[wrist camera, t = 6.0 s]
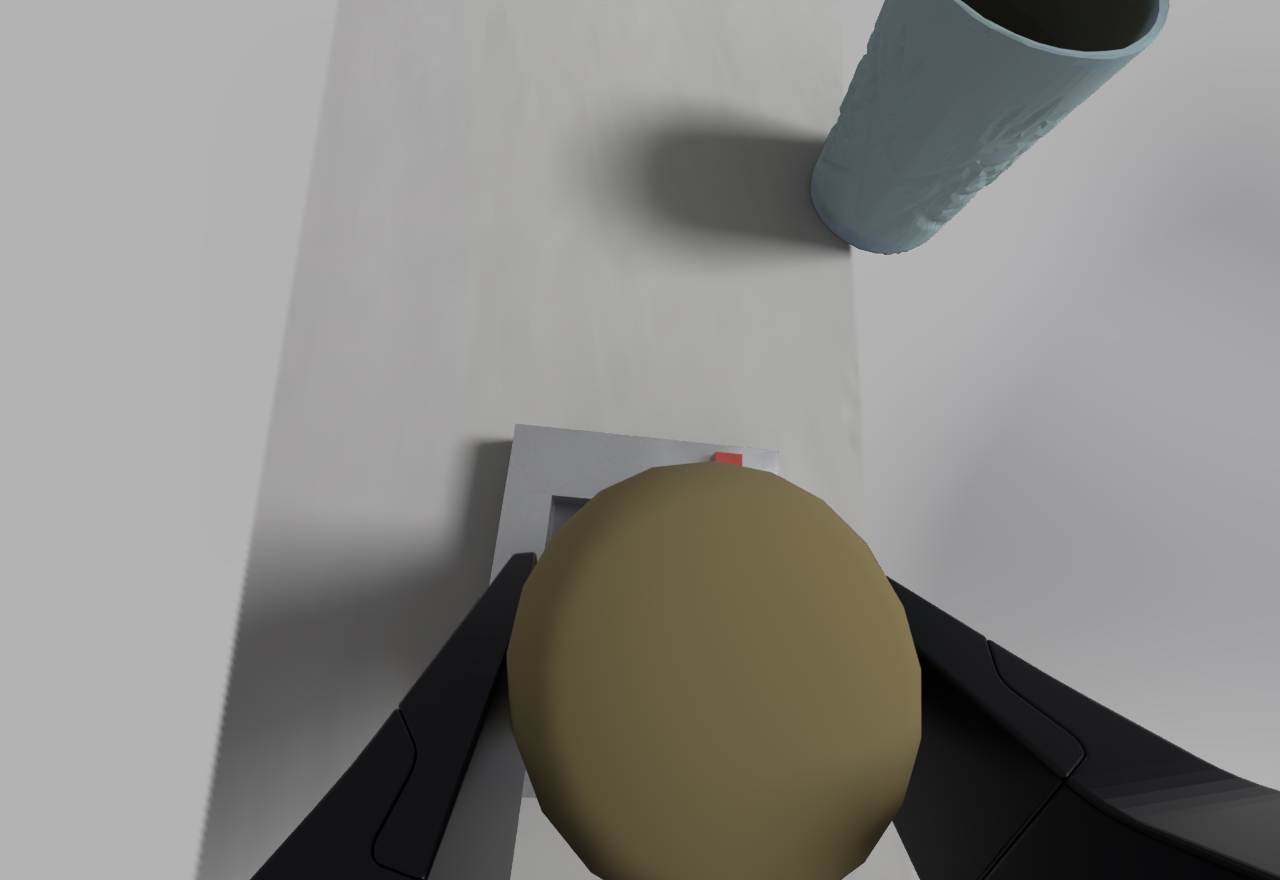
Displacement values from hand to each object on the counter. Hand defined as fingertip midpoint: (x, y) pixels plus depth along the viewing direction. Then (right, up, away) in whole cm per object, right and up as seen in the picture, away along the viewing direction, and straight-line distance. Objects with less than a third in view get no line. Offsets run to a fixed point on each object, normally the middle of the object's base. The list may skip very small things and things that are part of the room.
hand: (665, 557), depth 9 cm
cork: (-1, -3, +6) cm, 7 cm away
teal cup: (+14, +18, +20) cm, 30 cm away
